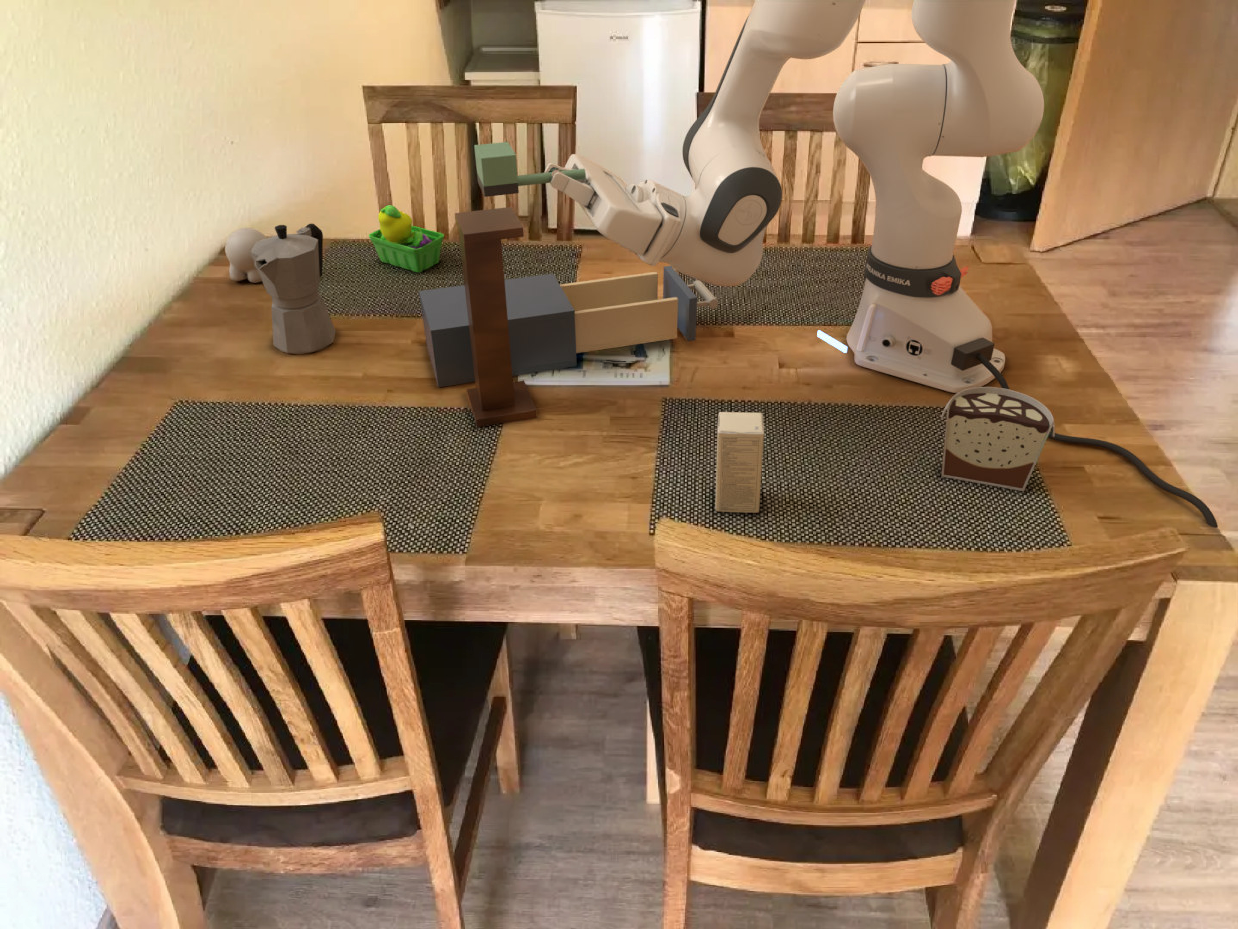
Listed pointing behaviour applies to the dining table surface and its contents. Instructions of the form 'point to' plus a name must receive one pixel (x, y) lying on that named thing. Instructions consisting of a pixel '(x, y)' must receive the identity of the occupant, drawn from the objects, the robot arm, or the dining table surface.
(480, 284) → the pedestal
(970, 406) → the food container
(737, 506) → the box
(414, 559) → the dining table surface
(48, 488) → the dining table surface
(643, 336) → the drawer
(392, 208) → the fruit basket
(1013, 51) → the robot arm
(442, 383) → the cabinet
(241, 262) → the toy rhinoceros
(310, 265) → the coffeepot
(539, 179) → the brush
